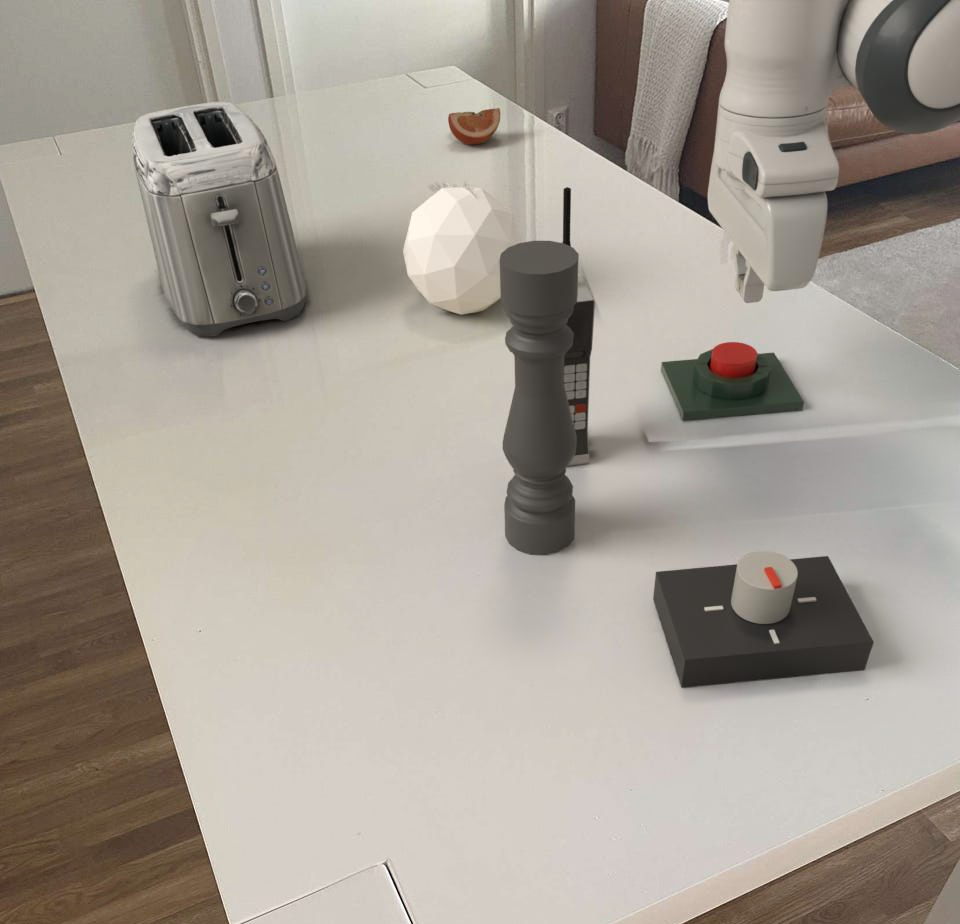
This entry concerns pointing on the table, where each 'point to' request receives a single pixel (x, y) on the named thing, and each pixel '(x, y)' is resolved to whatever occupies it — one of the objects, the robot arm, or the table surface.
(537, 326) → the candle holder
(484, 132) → the fruit slice
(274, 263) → the toaster
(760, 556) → the timer knob
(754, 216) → the robot arm
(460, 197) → the geodesic sphere
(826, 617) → the timer panel
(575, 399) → the vintage mobile phone
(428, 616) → the table surface
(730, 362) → the button
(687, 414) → the housing
